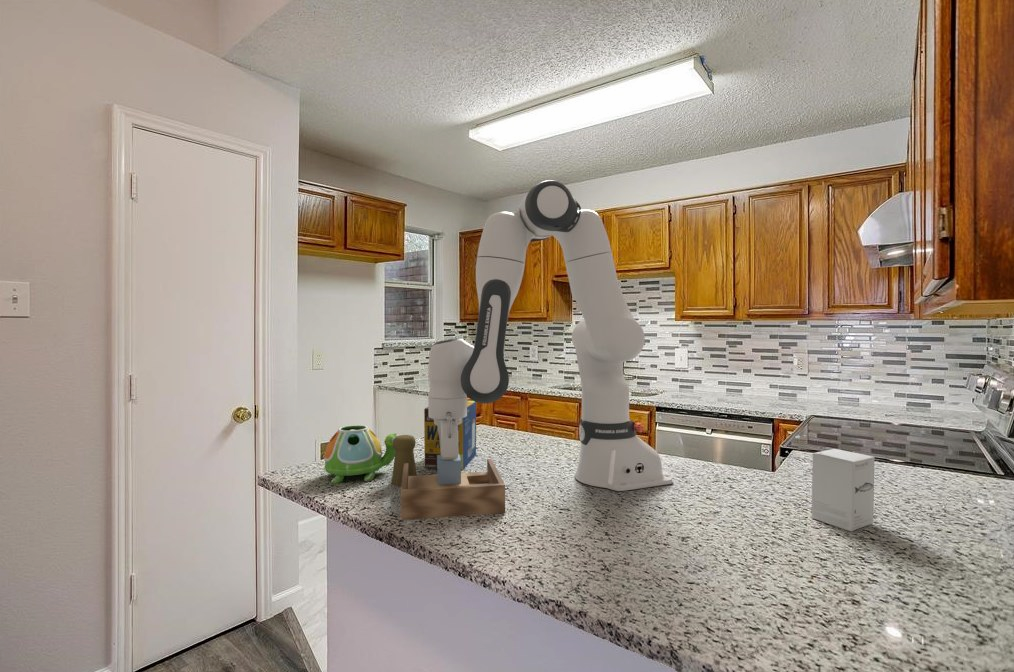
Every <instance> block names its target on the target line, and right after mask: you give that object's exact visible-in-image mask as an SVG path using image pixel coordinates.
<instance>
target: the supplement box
mask: <svg viewBox="0 0 1014 672" xmlns="http://www.w3.org/2000/svg"><path fill="white" fill-rule="evenodd" d="M875 460H876V459H875V456H873V455H867V454H864V453H863V454H862V453H858V452H853V451H848V450H842V449H838V448H831V449H826V450H821V451H817V452H813V453H812V466H811V467H812V469H811V470H812V471H811V474H812V475H811V479H812V480H811V519H814V520H817V521H820V522H822V523H825V524H828V525H830V526H833V527H836V528H839V529H842V530H845V531H849V532H854V531H856V530H858V529H861V528H864V527H867V526H870V525H874V506H875V505H874V503H875Z"/></svg>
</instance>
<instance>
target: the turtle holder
mask: <svg viewBox="0 0 1014 672" xmlns="http://www.w3.org/2000/svg"><path fill="white" fill-rule="evenodd" d="M397 436H399V435H398V434H397V433H391V434H388V435H387V436H386V437H385V439H384V443H383V444H384V445H385V451H384V452H385V453H384V454H383V451H382V450H383V449H382V446H381V442H380V439H379V438H378V437H377V435H376V434H375V433H374V432H373V431H372V430H371V429H370V428H369V426H368V425H366V424H365V425H364V424H356V425H355V424H353V425H344V426H341V427H339V428H338V429H337V431H336V432H335V433H334V435H332V437H331V438H330V439H329V441H328V443H327V445H326V448H325V454H324V458H323V459H324V463H325V465H324V469H325V472H326V473H327V474H330V475H335V477H333V478H332V479H331V481H330V483H331V484H339V483H342V482H343V481H344V479H345V477H346V476H358V475H359V476H360V475H365V476H364V477H363V481H364V482H369V481H373V480H374V478H375V476H376V472H377V471H379V470H380V469H381V468H383V467H385V466H388V465H390V464H391V463H392V462H394V458H395V449H394V447H393V440H394V438H395V437H397Z"/></svg>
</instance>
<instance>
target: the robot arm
mask: <svg viewBox="0 0 1014 672" xmlns="http://www.w3.org/2000/svg"><path fill="white" fill-rule="evenodd" d="M552 236H553V237H554V238H555V240H557V242H558V243H559V244H560V247H561V250H562V254H563V261H564V263H565V269H566V274H567V278H568V279H567V280H568V283H569V287H570V293H571V296H572V298H573V299H574V301H576V304H577V306H578V307H579V310H580V312H581V315H582V317H583V319H581V320H580V321H579V322H578V323H577V324H576V325H575V326H574V328H573V329H572V333H571V341H572V344H573V347H574V349H575V350H574V351H575V355H576V362H577V366H578V372H579V373H578V374H579V378H580V386H581V417H580V419H579V427H578V428H579V442H580V449H579V457H578V462H577V467H576V471H575V474H574V478H575V479H576V480H577V481H579V482H580V483H581V484H582V483H583V484H584V485H589V486H592V487H597V488H603V489H604V488H605V489H609V490H611V491H616V492H624V491H631V490H638V489H645V488H646V489H647V488H651V487H659V486H665V485H666V486H667V485H671V484H673V476H672V475H671V474H670V473H669V472H667V471H666V470H664V469H663V465H662V460H661V457H660V454H659V453H658V452H657V450H656V449H654V448H653V447H652V446H651V445H649V444H648V443H647V442H645V441H644V440H643V439H641V438H640V437H639V436H638V435H637V432H638V433H643V432H644V430H645V425H644V424H643V423H641V422H639V421H638V422H635V421H633V420H631V419H630V388H629V384H628V381H626V377H625V375H624V372H623V368H622V363H625V362H628V361H630V360H633V359H635V358H636V357H637V356H638V355H640V353H641V352H642V350H643V348H644V346H645V340H646V338H645V337H646V336H645V333H644V329H643V327H642V326H641V325H640V324H639V322H638V321H637V320H636V319H635V318H634V315H633V313H632V312H631V309H630V308H629V305H628V303H627V301H626V299H625V297H624V294H623V291H622V289H621V286H620V284H619V279H618V275H617V271H616V265H615V260H614V256H613V252H612V251H613V250H612V248H611V247H612V246H611V244H610V240H609V236H608V233H607V231H606V228H605V226H604V223H603V220H602V218H601V216H600V214H598V213H597V212H596V211H594V210H591V209H582V206H581V204H580V203H579V202H578V200H576V199H575V197H574V195H573V194H572V192H571V191H570V189H569V188H568V187H567V186H566V185H564V184H563V183H562V182H560V181H557V180H552V179H551V180H550V179H549V180H544V181H540V182H538V183H537V184H535V185H533V186H532V187H531V188H530V190H529V191H528V192H527V193H526V194H525V195H524V197H523V198H522V200H521V202H520V204H519V206H518V207H517V209H516V210H515V211H514V212H511V211H510V212H509V211H499V212H495V213H493V214H490V215H489V216H488V217H487V219H486V221H485V224H484V226H483V229H482V233H481V237H480V241H479V244H478V250H477V257H476V265H475V283H476V284H475V286H476V294H477V300H478V318H477V325H476V332H475V339H474V345H472V344H470V343H469V342H467V341H466V340H465V339H463V338H461V337H455V338H449V339H444V340H439V341H437V342H435V343H434V344H433V345H432V346H431V347H430V350H429V357H428V365H427V366H428V370H427V371H428V373H427V374H428V375H427V379H428V382H429V391H428V396H427V397H428V399H427V400H428V403H427V405H428V406H427V407H428V416H429V417H430V418H432V419H434V424H435V425H437V427H438V434H439V441H440V451H441V458H442V459H443V460H451V459H457V458H458V425H459V424H461V423H462V418H464V417H466V416H467V401H468V398H469V399H470V401H475V402H476V403H478V404H485V405H486V404H491V403H494V402H496V401H498V400H500V399H501V398H502V397H503V396H505V394H506V393H507V391H508V387H509V383H510V375H509V371H508V369H507V365H506V362H505V356H504V355H505V343H506V335H507V334H506V333H507V327H508V320H509V315H510V311H511V308H512V307H513V304H514V301H515V299H516V297H517V295H518V293H519V291H520V287H521V284H522V282H523V281H522V280H523V277H524V271H525V266H526V255H527V250H528V246H529V244H530V243H533V242H540V241H541V242H542V241H544V240H547V239H549V238H551V237H552Z"/></svg>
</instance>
